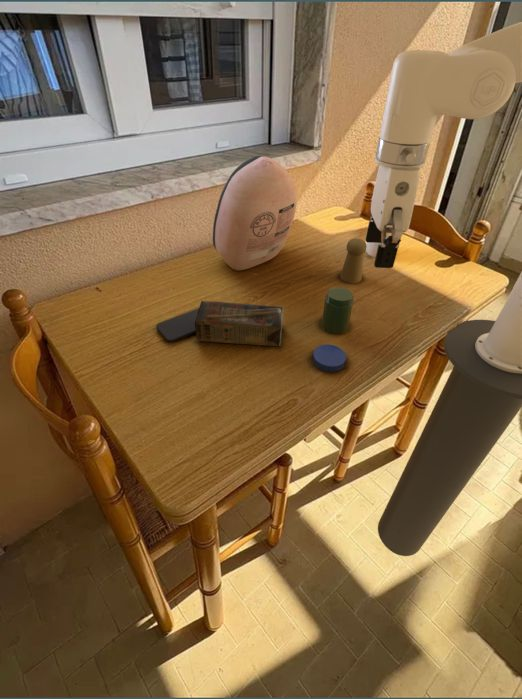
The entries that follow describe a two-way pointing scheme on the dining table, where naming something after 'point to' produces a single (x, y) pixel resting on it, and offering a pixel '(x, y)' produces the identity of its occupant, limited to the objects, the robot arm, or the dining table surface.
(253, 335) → the beverage carton
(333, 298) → the jam jar
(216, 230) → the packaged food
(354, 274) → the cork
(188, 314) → the phone
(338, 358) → the jar lid
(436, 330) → the dining table surface
